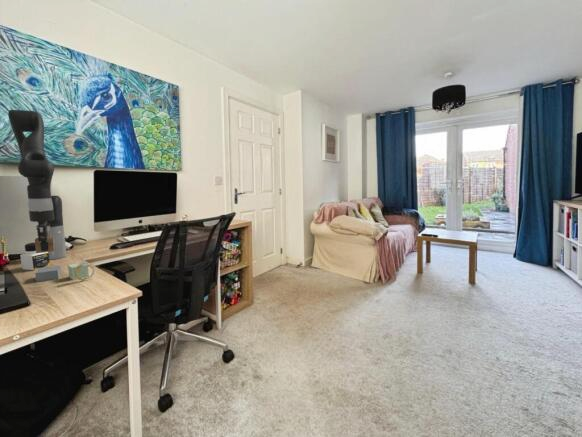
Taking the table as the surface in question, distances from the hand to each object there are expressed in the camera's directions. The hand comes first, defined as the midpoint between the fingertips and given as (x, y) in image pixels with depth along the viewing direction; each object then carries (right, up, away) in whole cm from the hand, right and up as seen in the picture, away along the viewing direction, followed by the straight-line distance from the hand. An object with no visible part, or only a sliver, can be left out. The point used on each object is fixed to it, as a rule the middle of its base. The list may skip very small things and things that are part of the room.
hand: (45, 249), depth 114 cm
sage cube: (+12, -12, +3) cm, 17 cm away
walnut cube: (0, -1, 0) cm, 1 cm away
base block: (0, -13, +2) cm, 13 cm away
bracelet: (+17, -13, -1) cm, 22 cm away
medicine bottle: (-18, -11, +15) cm, 25 cm away
